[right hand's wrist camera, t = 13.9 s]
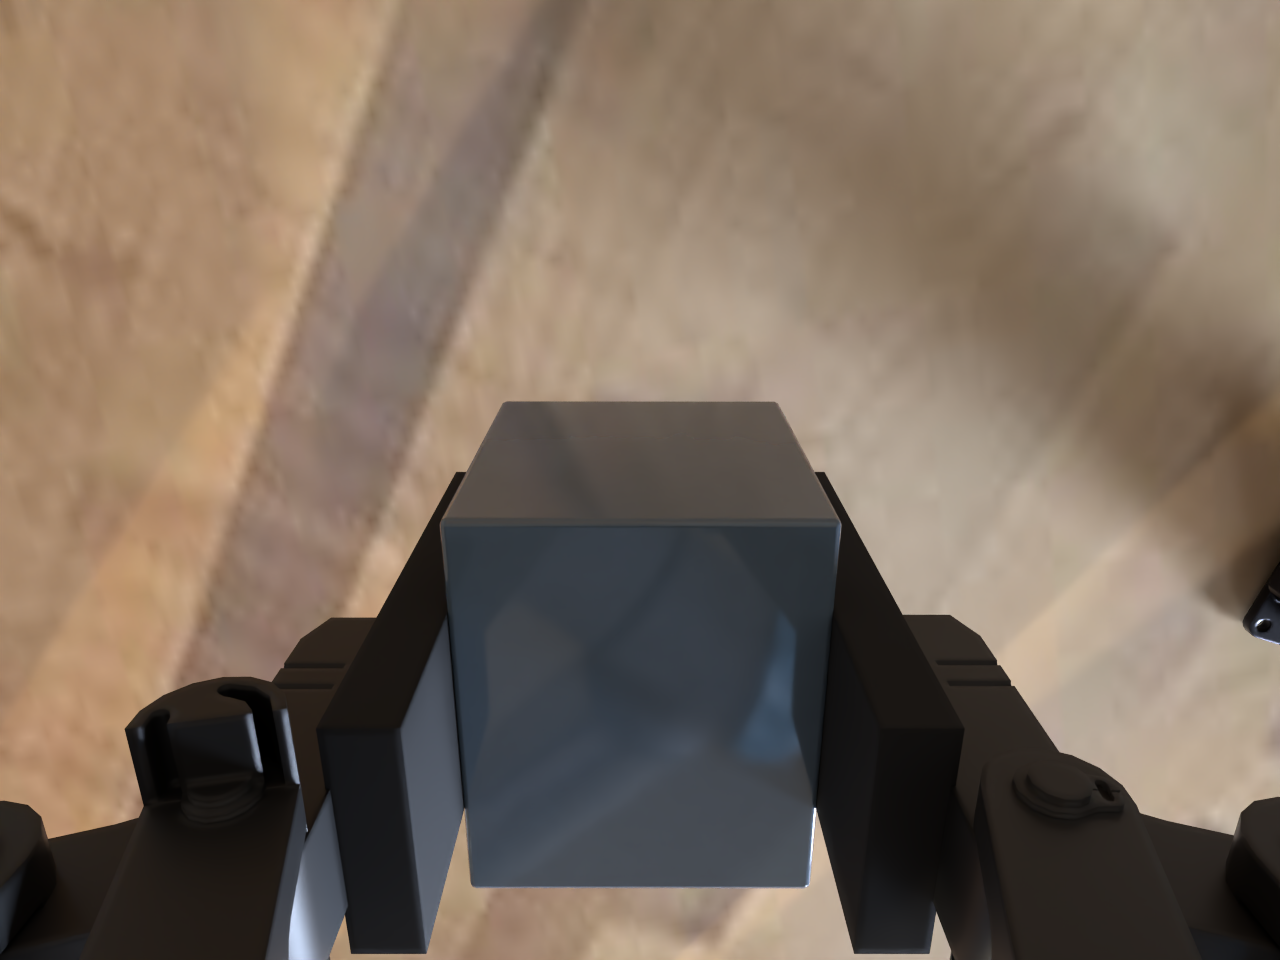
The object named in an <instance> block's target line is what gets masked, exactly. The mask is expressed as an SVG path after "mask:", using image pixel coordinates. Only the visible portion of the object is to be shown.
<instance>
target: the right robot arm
mask: <svg viewBox="0 0 1280 960" xmlns="http://www.w3.org/2000/svg"><path fill="white" fill-rule="evenodd" d="M465 474H466V472H456V474H455V475H454V477H453V479H452V481H451V483H450V484H449V486H448V488H447V490H446V492H445V494H444V495H443V497H442V499H441V501H440V503H439V505H438V506H437V508H436V510H435V512H434V514H433V516H432V517H431V519H430V521H429V523H428V525H427V526H426V528H425V530H424V532H423V534H422V536H421V537H420V539H419V541H418V543H417V545H416V547H415V548H414V550H413V552H412V554H411V556H410V558H409V559H408V561H407V563H406V565H405V567H404V568H403V570H402V572H401V574H400V576H399V578H398V579H397V581H396V583H395V585H394V587H393V589H392V590H391V592H390V594H389V596H388V598H387V600H386V601H385V603H384V605H383V607H382V609H381V611H380V612H379V614H378V616H377V618H330V619H329V620H327V621H326V622H324V623H323V624H322V625H320V626H319V627H317V628H316V629H314V630H313V631H311V632H310V633H309V634H307V635H306V636H304V637H303V638H301V639H300V641H299V642H298V644H297V645H296V647H295V648H294V650H293V651H292V653H291V654H290V656H289V657H288V659H287V660H286V662H285V663H284V668H281V669H280V671H279V672H278V674H277V675H276V676H275V678H274V679H273V681H272V682H269V681H265V680H261V679H257V678H253V677H221V678H217V679H212V680H207V681H202V682H197V683H193V684H190V685H188V686H185V687H183V688H180V689H178V690H175V691H173V692H170V693H168V694H165V695H163V696H162V697H160V698H159V699H157V700H156V701H154V702H153V703H151V704H150V705H148V706H147V707H145V708H143V709H142V710H140V711H139V712H138V714H137V715H136V716H135V717H134V718H133V720H132V721H131V722H130V723H129V724H128V726H127V727H126V728H125V732H126V736H127V740H128V744H129V748H130V752H131V756H132V760H133V764H134V768H135V772H136V776H137V780H138V784H139V788H140V792H141V796H142V800H143V804H144V807H143V809H142V812H141V814H140V816H139V818H136V819H132V820H129V821H126V822H122V823H119V824H115V825H110V826H106V827H101V828H97V829H92V830H88V831H83V832H78V833H74V834H69V835H65V836H60V837H56V838H51V839H48V838H47V835H46V831H45V828H44V825H43V821H42V818H41V816H40V815H39V814H37V813H36V812H35V811H34V810H33V809H32V808H31V807H30V806H28V805H25V804H19V803H14V802H8V801H0V960H330V956H329V955H330V952H331V949H332V947H333V944H334V942H335V939H336V936H337V934H338V931H339V928H340V926H341V923H342V921H343V918H344V915H345V917H346V924H347V930H348V937H349V943H350V949H351V954H426V953H427V949H428V945H429V942H430V938H431V934H432V930H433V926H434V922H435V919H436V915H437V911H438V907H439V903H440V900H441V896H442V892H443V888H444V884H445V880H446V877H447V873H448V869H449V865H450V861H451V857H452V854H453V850H454V846H455V842H456V838H457V834H458V831H459V827H460V823H461V819H462V815H463V811H464V797H463V785H462V774H461V762H460V750H459V739H458V727H457V715H456V704H455V692H454V680H453V669H452V657H451V646H450V634H449V622H448V611H447V603H446V591H445V580H444V568H443V556H442V545H441V533H440V522H441V520H442V518H443V516H444V514H445V512H446V510H447V508H448V506H449V504H450V502H451V501H452V499H453V497H454V495H455V493H456V491H457V489H458V487H459V485H460V484H461V482H462V480H463V478H464V476H465ZM815 474H816V476H817V478H818V480H819V482H820V484H821V485H822V487H823V489H824V491H825V493H826V495H827V497H828V499H829V501H830V502H831V504H832V506H833V508H834V510H835V512H836V514H837V516H838V518H839V519H840V522H841V536H840V547H839V558H838V570H837V581H836V592H835V604H834V611H833V621H832V632H831V644H830V655H829V667H828V678H827V690H826V701H825V712H824V724H823V735H822V747H821V758H820V770H819V781H818V793H817V804H816V809H817V813H818V817H819V821H820V824H821V828H822V832H823V836H824V840H825V844H826V847H827V851H828V855H829V859H830V863H831V866H832V870H833V874H834V878H835V882H836V886H837V889H838V893H839V897H840V901H841V905H842V909H843V912H844V916H845V920H846V924H847V928H848V932H849V935H850V939H851V943H852V947H853V951H854V954H929V953H930V947H931V941H932V934H933V928H934V922H935V915H936V912H937V914H938V917H939V920H940V922H941V925H942V927H943V930H944V933H945V935H946V938H947V940H948V943H949V946H950V948H951V956H950V960H1280V797H1275V798H1269V799H1264V800H1258V801H1254V802H1253V803H1252V804H1250V805H1249V806H1248V807H1247V808H1246V809H1245V810H1244V811H1242V812H1241V814H1240V818H1239V821H1238V824H1237V827H1236V831H1235V834H1234V835H1229V834H1225V833H1220V832H1215V831H1211V830H1206V829H1202V828H1197V827H1192V826H1188V825H1183V824H1179V823H1174V822H1169V821H1165V820H1162V819H1158V818H1155V817H1151V816H1148V815H1144V814H1141V813H1140V812H1139V810H1138V808H1137V805H1136V804H1135V802H1134V801H1133V800H1132V798H1131V797H1130V795H1129V794H1128V793H1127V791H1126V790H1125V788H1124V787H1123V786H1122V785H1121V784H1120V783H1119V782H1117V781H1116V780H1115V779H1113V778H1112V777H1111V776H1109V775H1108V774H1107V773H1105V772H1104V771H1103V770H1102V769H1100V768H1098V767H1096V766H1094V765H1092V764H1090V763H1087V762H1085V761H1083V760H1081V759H1079V758H1077V757H1074V756H1072V755H1068V754H1064V753H1060V752H1059V751H1058V750H1057V748H1056V747H1055V745H1054V744H1053V742H1052V741H1051V739H1050V738H1049V736H1048V735H1047V733H1046V732H1045V730H1044V729H1043V727H1042V726H1041V725H1040V723H1039V722H1038V720H1037V719H1036V717H1035V716H1034V714H1033V713H1032V711H1031V710H1030V708H1029V707H1028V705H1027V704H1026V702H1025V701H1024V700H1023V698H1022V697H1021V695H1020V694H1019V692H1018V691H1017V689H1016V688H1015V686H1011V680H1010V679H1009V677H1008V676H1007V675H1006V673H1005V672H1004V670H1003V669H1002V667H1001V666H1000V665H997V660H996V658H995V657H994V655H993V654H992V653H991V651H990V650H989V648H988V647H987V645H986V644H985V642H984V641H983V639H982V638H981V636H980V635H978V634H977V633H975V632H974V631H972V630H971V629H969V628H968V627H967V626H965V625H964V624H962V623H961V622H959V621H958V620H956V619H955V618H954V617H952V616H951V615H902V613H901V611H900V609H899V607H898V606H897V604H896V602H895V600H894V598H893V596H892V595H891V593H890V591H889V589H888V587H887V586H886V584H885V582H884V580H883V578H882V576H881V575H880V573H879V571H878V569H877V567H876V565H875V564H874V562H873V560H872V558H871V556H870V555H869V553H868V551H867V549H866V547H865V545H864V544H863V542H862V540H861V538H860V536H859V534H858V533H857V531H856V529H855V527H854V525H853V523H852V522H851V520H850V518H849V516H848V514H847V513H846V511H845V509H844V507H843V505H842V503H841V502H840V500H839V498H838V496H837V494H836V492H835V491H834V489H833V487H832V485H831V483H830V481H829V480H828V478H827V476H826V474H825V472H815Z"/></svg>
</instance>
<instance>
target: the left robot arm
mask: <svg viewBox="0 0 1280 960" xmlns="http://www.w3.org/2000/svg"><path fill="white" fill-rule="evenodd" d="M1263 620H1264V621H1263ZM1260 621H1263V623H1262V624H1261V625H1259V626H1257V625H1258V623H1259V622H1260ZM1243 627H1244V628H1245V630H1246V631H1248V632H1249V633H1250V634H1251V635H1253V636H1255V637H1256V638H1260V639H1263V640H1266V641H1269V642H1273V643H1276V644H1279V645H1280V562H1279V564H1278V565H1277V567H1276V569H1275V570H1274V572H1273V573H1272V575H1271V576H1270V578H1269V580H1268V581H1267V583H1266V584H1265V586H1264V587H1263V589H1262V590H1261V592H1260V594H1259V595H1258V597H1257V598H1256V600H1255V601H1254V603H1253V605H1252V606H1251V608H1250V609H1249V611H1248V612H1247V614H1246V616H1245V617H1244V620H1243Z"/></svg>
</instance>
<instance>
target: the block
mask: <svg viewBox="0 0 1280 960" xmlns="http://www.w3.org/2000/svg"><path fill="white" fill-rule="evenodd" d="M440 533H441V545H442V556H443V568H444V580H445V591H446V603H447V611H448V622H449V634H450V646H451V657H452V669H453V680H454V692H455V704H456V715H457V727H458V739H459V750H460V762H461V774H462V785H463V797H464V814H465V825H466V837H467V849H468V860H469V872H470V881H471V884H472V886H473V887H475V888H806V887H808V885H809V883H810V877H811V865H812V854H813V842H814V831H815V820H816V804H817V793H818V781H819V770H820V758H821V747H822V735H823V724H824V712H825V701H826V690H827V678H828V667H829V655H830V644H831V632H832V621H833V611H834V604H835V592H836V581H837V570H838V558H839V547H840V536H841V522H840V519H839V518H838V516H837V514H836V512H835V510H834V508H833V506H832V504H831V502H830V501H829V499H828V497H827V495H826V493H825V491H824V489H823V487H822V485H821V484H820V482H819V480H818V478H817V476H816V474H815V472H814V470H813V469H812V467H811V465H810V463H809V461H808V459H807V457H806V455H805V453H804V452H803V450H802V448H801V446H800V444H799V442H798V440H797V438H796V437H795V435H794V433H793V431H792V429H791V427H790V425H789V423H788V421H787V420H786V418H785V416H784V414H783V412H782V410H781V408H780V406H779V405H778V403H776V402H505V403H503V404H502V406H501V408H500V410H499V412H498V414H497V415H496V417H495V419H494V421H493V423H492V425H491V427H490V429H489V431H488V433H487V434H486V436H485V438H484V440H483V442H482V444H481V446H480V448H479V450H478V451H477V453H476V455H475V457H474V459H473V461H472V463H471V465H470V467H469V468H468V470H467V472H466V474H465V476H464V478H463V480H462V482H461V484H460V485H459V487H458V489H457V491H456V493H455V495H454V497H453V499H452V501H451V502H450V504H449V506H448V508H447V510H446V512H445V514H444V516H443V518H442V520H441V522H440Z"/></svg>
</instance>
